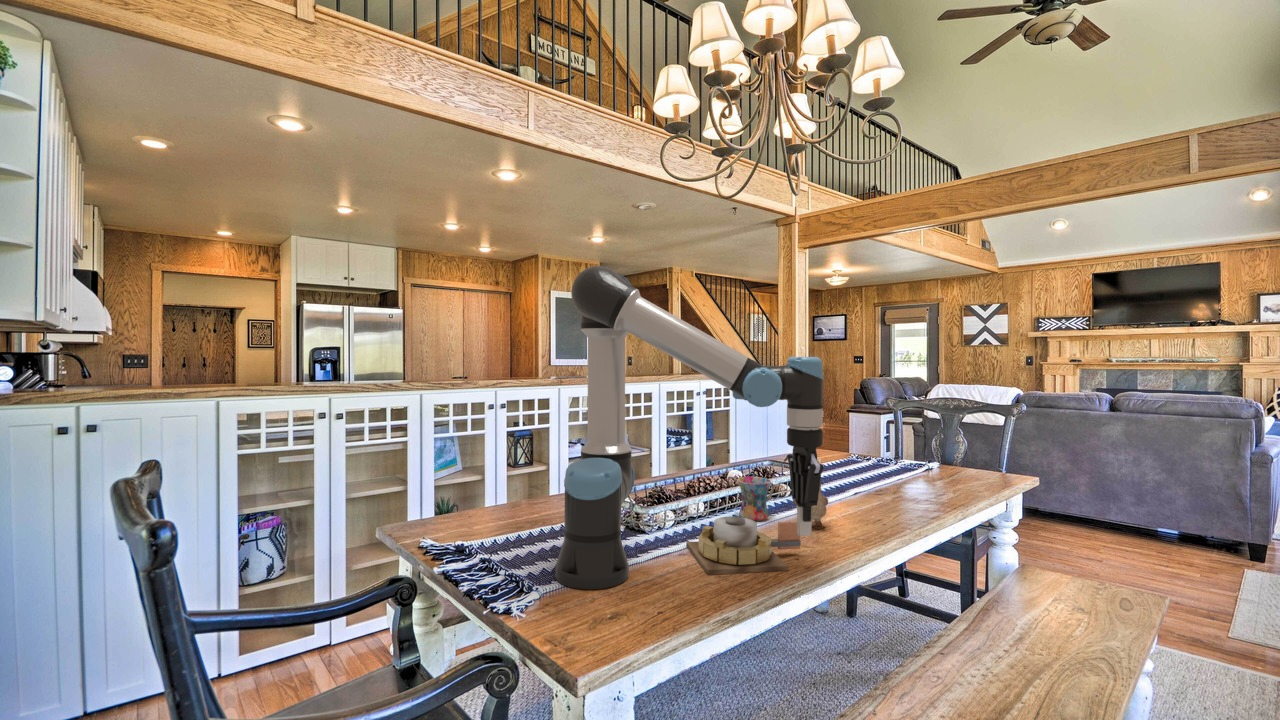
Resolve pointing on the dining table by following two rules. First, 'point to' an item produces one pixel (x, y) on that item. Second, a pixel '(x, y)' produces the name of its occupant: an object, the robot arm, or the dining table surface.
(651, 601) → the dining table surface
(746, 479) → the mug
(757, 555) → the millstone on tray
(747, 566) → the housing
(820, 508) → the figurine
